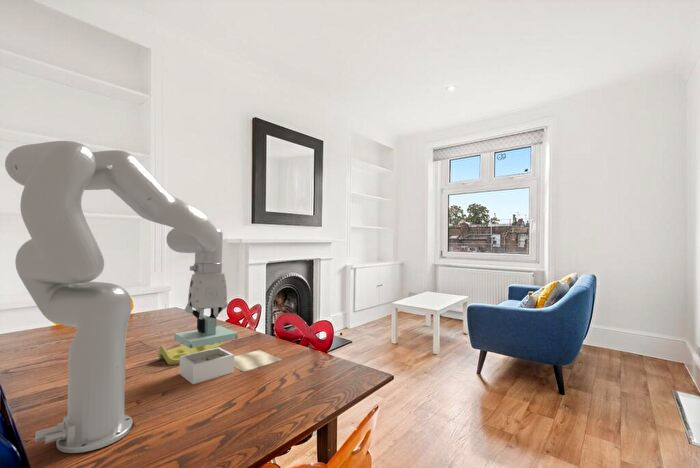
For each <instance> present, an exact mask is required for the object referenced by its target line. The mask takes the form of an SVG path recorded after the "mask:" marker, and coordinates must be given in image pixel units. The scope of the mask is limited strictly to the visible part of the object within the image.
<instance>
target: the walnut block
mask: <svg viewBox="0 0 700 468" xmlns="http://www.w3.org/2000/svg"><path fill="white" fill-rule="evenodd" d="M220 357H223V356H221V355H219V354H218V355H214V356H210V357H206V361H208V360H212V359H216V358H220Z"/></svg>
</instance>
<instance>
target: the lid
mask: <svg viewBox="0 0 700 468" xmlns="http://www.w3.org/2000/svg"><path fill="white" fill-rule="evenodd" d="M209 316H210V315H204V316H203V317H204V319H205V332H204V333H201V332H199V331H198V330H197V329H193V330H187V331H181V332H174V340H175V341H176V342H178V343H180V344H181V345H182V346H187V347H188V348H195V347H200V346H205V345H210V344H215V343H219V342H224V343H225V342H228V341H233V340H238V337H239V333H238V332H237V331H234V330H232V329H229V328H227V327H224V326H222V325H217V318H216V319H214V318H211V317H209Z"/></svg>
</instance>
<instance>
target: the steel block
mask: <svg viewBox="0 0 700 468" xmlns="http://www.w3.org/2000/svg"><path fill="white" fill-rule="evenodd" d="M204 361H206V360H205V359H203V358H202V359H198V360H194V361H192V362H193V363H195V364H196V363H200V362H204Z"/></svg>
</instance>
